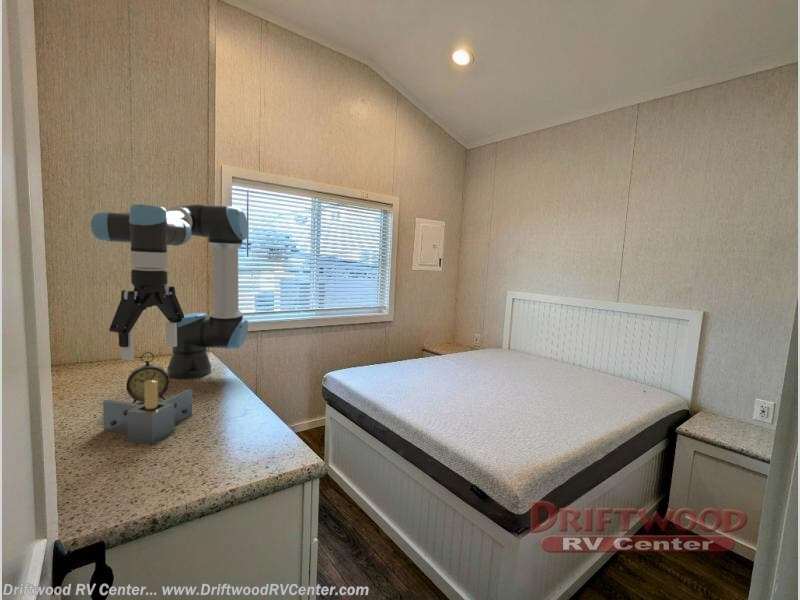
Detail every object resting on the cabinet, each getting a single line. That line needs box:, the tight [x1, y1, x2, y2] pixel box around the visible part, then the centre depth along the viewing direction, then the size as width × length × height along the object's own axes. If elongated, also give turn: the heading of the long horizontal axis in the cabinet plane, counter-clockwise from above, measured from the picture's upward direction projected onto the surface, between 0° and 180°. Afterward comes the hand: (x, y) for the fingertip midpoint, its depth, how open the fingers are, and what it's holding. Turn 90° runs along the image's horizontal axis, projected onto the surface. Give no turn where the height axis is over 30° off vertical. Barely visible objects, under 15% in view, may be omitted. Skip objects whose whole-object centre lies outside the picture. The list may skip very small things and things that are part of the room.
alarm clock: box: [125, 351, 170, 404], centre depth 118 cm, size 11×5×16 cm, turn 123°
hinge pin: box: [144, 380, 159, 412], centre depth 98 cm, size 3×3×15 cm
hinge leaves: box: [102, 388, 193, 446], centre depth 104 cm, size 18×18×8 cm
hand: (151, 352), depth 96 cm, fingers open, 13 cm apart
